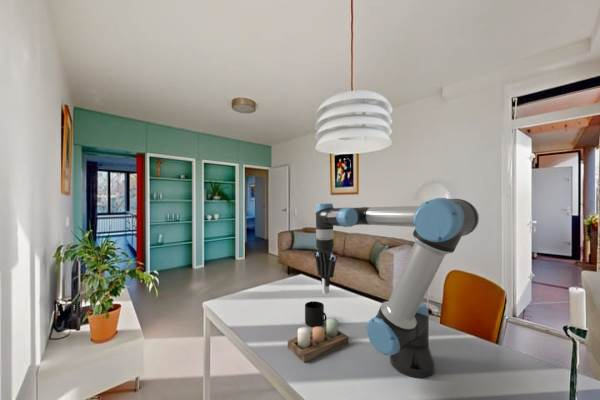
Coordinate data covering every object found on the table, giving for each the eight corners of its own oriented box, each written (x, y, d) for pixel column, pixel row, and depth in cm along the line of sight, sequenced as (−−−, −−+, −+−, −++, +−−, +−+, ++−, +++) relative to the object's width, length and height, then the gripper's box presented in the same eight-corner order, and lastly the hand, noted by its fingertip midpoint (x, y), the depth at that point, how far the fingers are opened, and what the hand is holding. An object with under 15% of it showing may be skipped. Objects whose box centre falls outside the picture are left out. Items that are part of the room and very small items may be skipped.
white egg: (312, 346, 102) (312, 331, 102) (302, 350, 99) (302, 334, 99) (305, 340, 106) (305, 326, 106) (295, 344, 103) (295, 329, 103)
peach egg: (327, 344, 106) (326, 330, 106) (317, 348, 103) (317, 333, 103) (319, 339, 110) (319, 325, 110) (310, 342, 107) (310, 328, 107)
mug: (320, 331, 118) (320, 311, 118) (301, 323, 126) (301, 305, 126) (331, 324, 125) (331, 305, 126) (312, 317, 133) (312, 299, 133)
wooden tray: (348, 343, 108) (348, 336, 108) (304, 362, 95) (304, 354, 95) (330, 331, 118) (330, 325, 118) (287, 347, 105) (287, 340, 105)
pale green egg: (340, 335, 110) (340, 321, 110) (331, 338, 107) (331, 324, 107) (332, 330, 114) (332, 317, 114) (324, 333, 111) (324, 319, 111)
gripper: (341, 239, 108) (342, 295, 107) (321, 236, 118) (322, 287, 118) (328, 241, 103) (329, 299, 103) (308, 238, 114) (309, 290, 113)
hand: (325, 292), depth 110 cm, fingers closed
